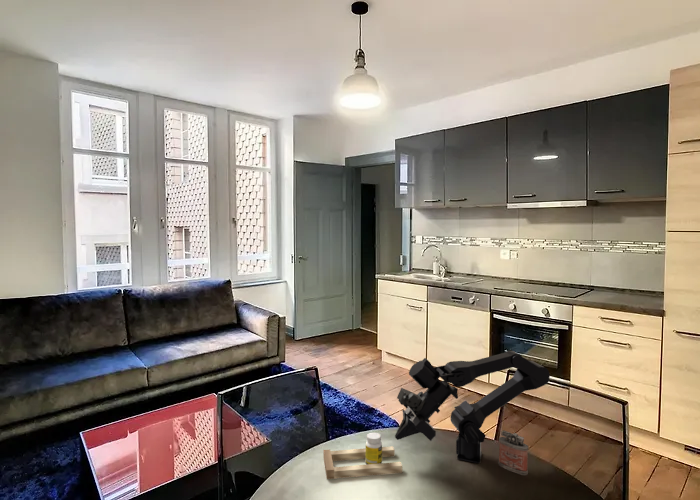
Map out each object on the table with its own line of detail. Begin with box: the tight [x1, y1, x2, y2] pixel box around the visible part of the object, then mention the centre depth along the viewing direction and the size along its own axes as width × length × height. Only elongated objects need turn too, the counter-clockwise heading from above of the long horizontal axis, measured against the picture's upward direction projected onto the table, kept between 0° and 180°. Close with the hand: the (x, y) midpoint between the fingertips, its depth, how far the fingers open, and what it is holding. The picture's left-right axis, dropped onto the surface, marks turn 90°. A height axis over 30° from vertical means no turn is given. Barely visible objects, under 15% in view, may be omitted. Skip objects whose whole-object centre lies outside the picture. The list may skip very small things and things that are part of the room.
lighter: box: [498, 430, 529, 476], centre depth 116 cm, size 8×3×10 cm, turn 47°
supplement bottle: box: [365, 432, 383, 465], centre depth 118 cm, size 5×5×8 cm
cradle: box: [323, 445, 403, 480], centre depth 118 cm, size 21×11×2 cm, turn 98°
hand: (396, 438), depth 119 cm, fingers closed
